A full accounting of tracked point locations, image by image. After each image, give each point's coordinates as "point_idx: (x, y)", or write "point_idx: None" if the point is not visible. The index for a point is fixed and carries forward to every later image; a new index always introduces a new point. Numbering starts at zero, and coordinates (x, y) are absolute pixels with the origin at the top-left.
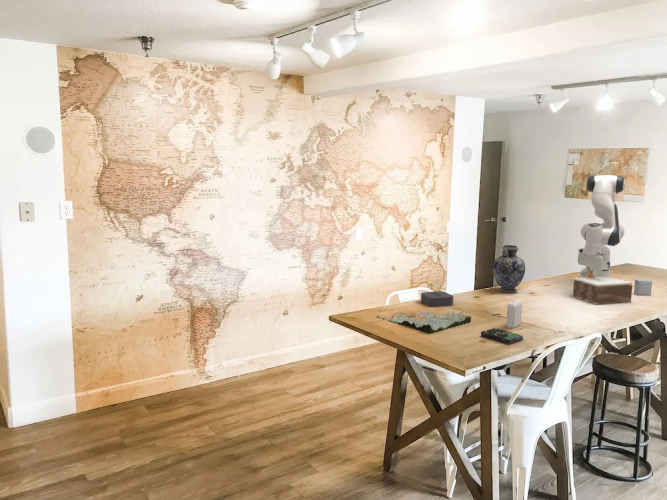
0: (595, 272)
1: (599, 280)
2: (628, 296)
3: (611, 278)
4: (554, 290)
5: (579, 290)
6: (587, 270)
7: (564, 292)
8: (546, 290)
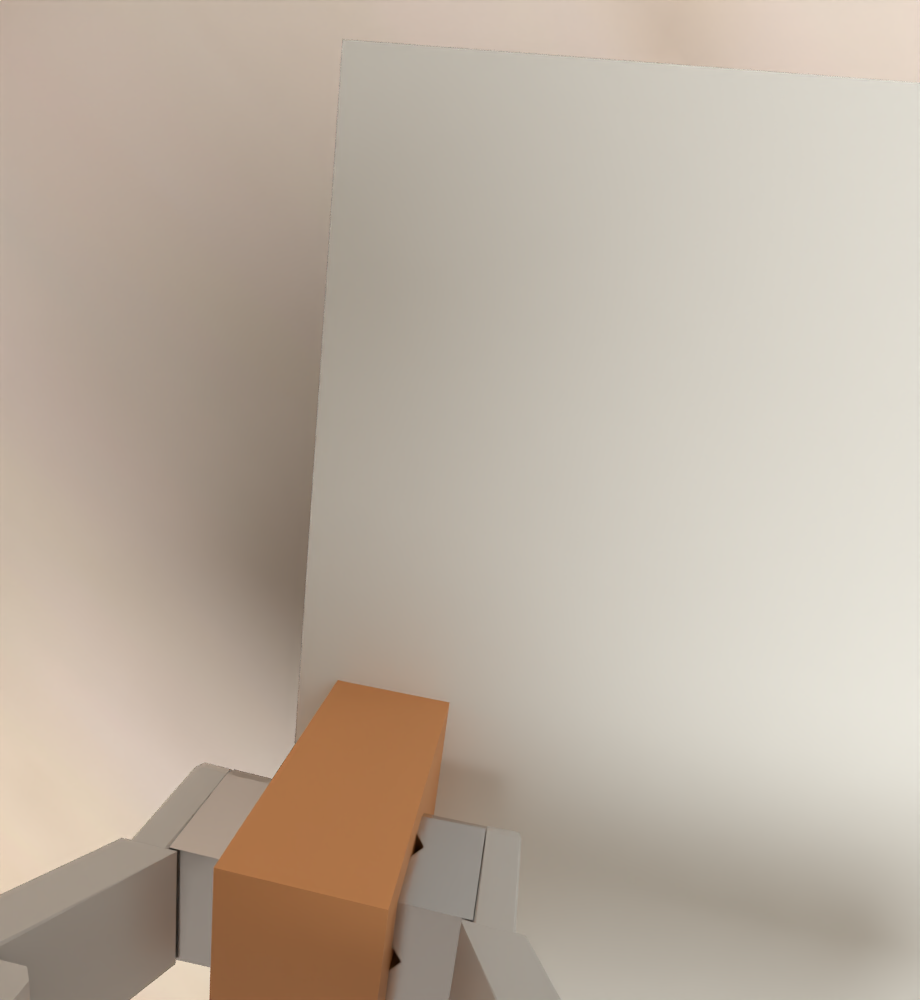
0: (514, 935)
1: (888, 969)
2: None
3: (889, 283)
4: (49, 738)
5: None
6: (133, 981)
7: (182, 719)
8: (29, 822)
